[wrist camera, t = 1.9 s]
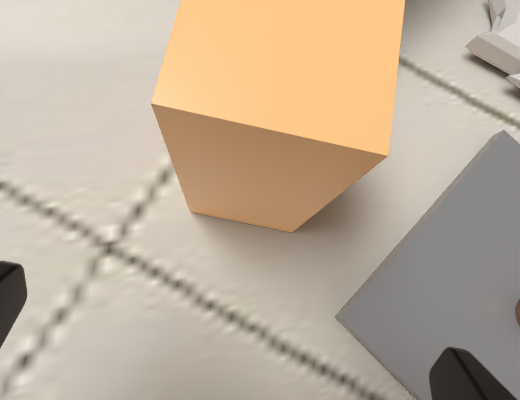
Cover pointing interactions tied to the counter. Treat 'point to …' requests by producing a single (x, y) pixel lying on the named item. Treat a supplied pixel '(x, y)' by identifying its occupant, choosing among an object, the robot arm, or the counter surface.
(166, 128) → the tall tan pillar
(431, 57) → the counter surface
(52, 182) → the counter surface
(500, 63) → the gun
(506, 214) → the base plate
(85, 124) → the counter surface
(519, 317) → the copper stud
